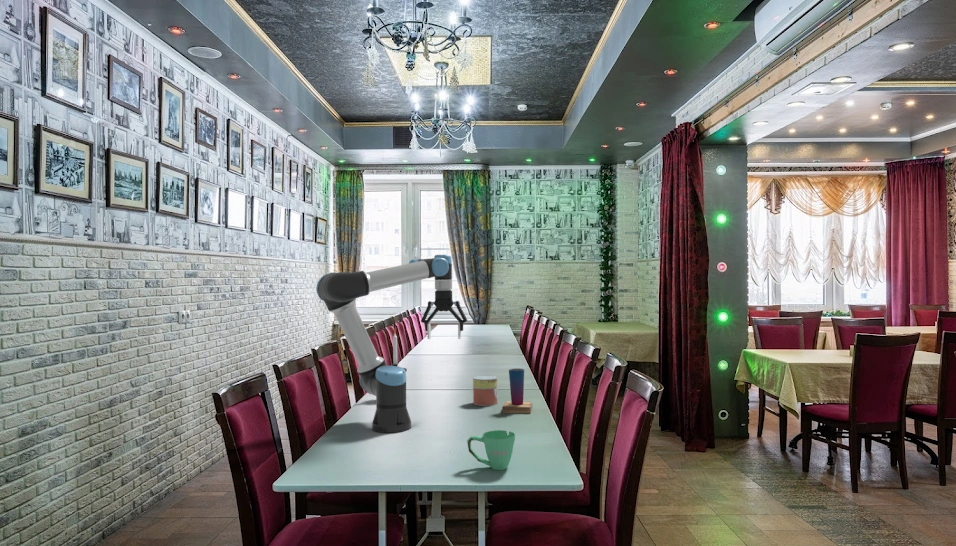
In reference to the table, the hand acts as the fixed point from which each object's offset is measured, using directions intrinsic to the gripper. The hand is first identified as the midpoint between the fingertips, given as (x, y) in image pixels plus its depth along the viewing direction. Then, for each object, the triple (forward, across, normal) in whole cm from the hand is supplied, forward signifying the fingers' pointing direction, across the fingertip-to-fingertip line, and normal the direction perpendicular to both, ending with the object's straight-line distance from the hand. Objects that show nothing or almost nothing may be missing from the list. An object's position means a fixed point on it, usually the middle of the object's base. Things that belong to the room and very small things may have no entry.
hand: (444, 338), depth 255 cm
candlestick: (+32, +30, -25) cm, 50 cm away
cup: (+29, -31, -5) cm, 43 cm away
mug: (+32, -30, +74) cm, 86 cm away
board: (+32, -31, -5) cm, 45 cm away
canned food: (+32, -15, -18) cm, 40 cm away
